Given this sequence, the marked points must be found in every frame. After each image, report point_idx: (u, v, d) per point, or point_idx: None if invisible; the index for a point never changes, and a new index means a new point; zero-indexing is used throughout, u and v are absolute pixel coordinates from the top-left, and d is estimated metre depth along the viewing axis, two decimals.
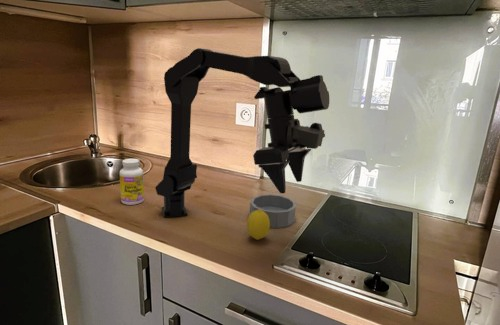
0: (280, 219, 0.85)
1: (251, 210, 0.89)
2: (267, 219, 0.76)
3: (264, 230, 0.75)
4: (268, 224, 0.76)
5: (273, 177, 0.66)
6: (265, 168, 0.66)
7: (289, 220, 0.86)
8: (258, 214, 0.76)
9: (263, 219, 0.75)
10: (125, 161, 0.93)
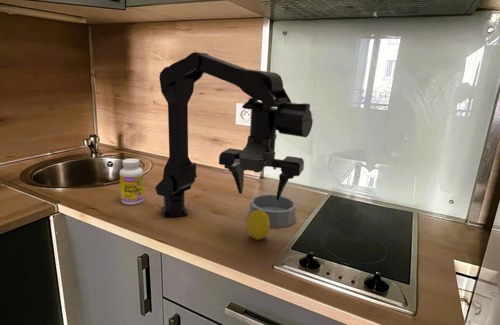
0: (280, 219, 0.85)
1: (251, 210, 0.89)
2: (267, 219, 0.76)
3: (264, 230, 0.75)
4: (268, 224, 0.76)
5: None
6: None
7: (289, 220, 0.86)
8: (258, 214, 0.76)
9: (263, 219, 0.75)
10: (125, 161, 0.93)
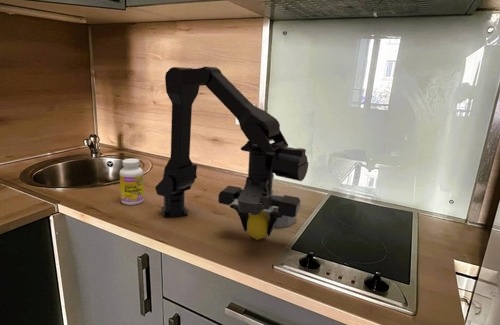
0: (280, 219, 0.85)
1: None
2: (267, 219, 0.76)
3: (264, 230, 0.75)
4: (268, 224, 0.76)
5: None
6: None
7: (289, 220, 0.86)
8: (258, 214, 0.76)
9: (262, 219, 0.75)
10: (125, 161, 0.93)
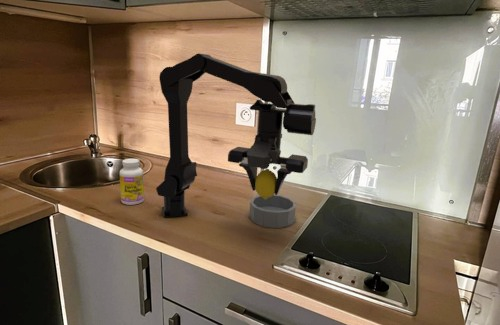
0: (280, 219, 0.85)
1: (251, 210, 0.89)
2: (275, 178, 0.78)
3: (272, 188, 0.78)
4: None
5: None
6: None
7: (289, 220, 0.86)
8: (266, 172, 0.78)
9: (270, 177, 0.77)
10: (125, 161, 0.93)
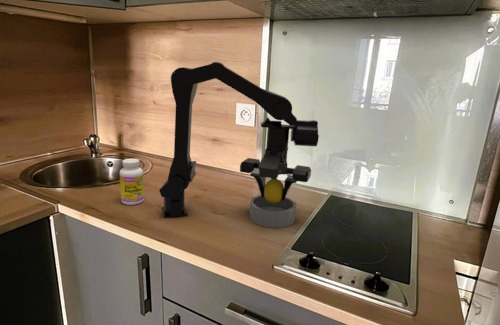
0: (280, 219, 0.85)
1: (251, 210, 0.89)
2: (282, 186, 0.88)
3: (279, 195, 0.87)
4: None
5: None
6: None
7: (289, 220, 0.86)
8: (274, 181, 0.88)
9: (278, 185, 0.87)
10: (125, 161, 0.93)
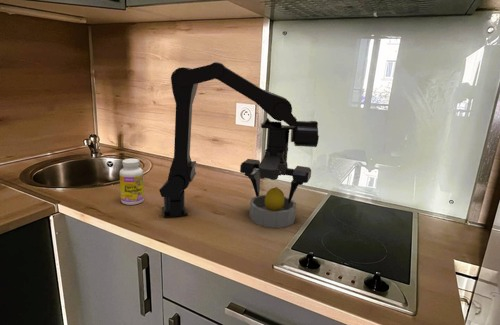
0: (280, 219, 0.85)
1: (251, 210, 0.89)
2: (283, 196, 0.88)
3: (280, 205, 0.88)
4: (283, 200, 0.89)
5: None
6: None
7: (289, 220, 0.86)
8: (275, 191, 0.88)
9: (279, 195, 0.87)
10: (125, 161, 0.93)
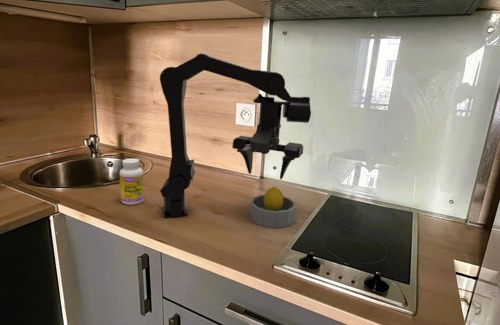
0: (280, 219, 0.85)
1: (251, 210, 0.89)
2: (281, 195, 0.89)
3: (279, 204, 0.88)
4: (282, 199, 0.89)
5: None
6: None
7: (289, 220, 0.86)
8: (273, 190, 0.88)
9: (278, 195, 0.88)
10: (125, 161, 0.93)
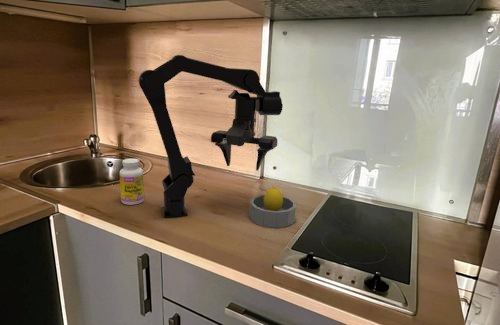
0: (280, 219, 0.85)
1: (251, 210, 0.89)
2: (281, 195, 0.89)
3: (279, 204, 0.88)
4: (282, 199, 0.89)
5: None
6: None
7: (289, 220, 0.86)
8: (273, 190, 0.88)
9: (277, 194, 0.88)
10: (125, 161, 0.93)
